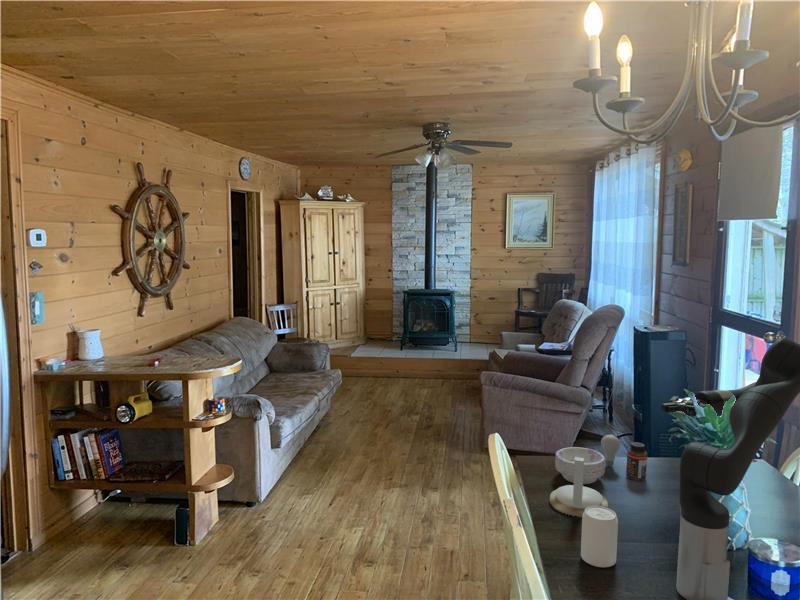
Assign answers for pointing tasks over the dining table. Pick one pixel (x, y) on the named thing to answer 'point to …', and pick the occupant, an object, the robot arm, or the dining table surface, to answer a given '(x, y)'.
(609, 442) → the lightbulb
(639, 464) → the supplement bottle
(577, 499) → the dial
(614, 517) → the beverage can
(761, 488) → the dining table surface
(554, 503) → the dial base
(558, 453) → the paper bowls
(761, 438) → the robot arm
